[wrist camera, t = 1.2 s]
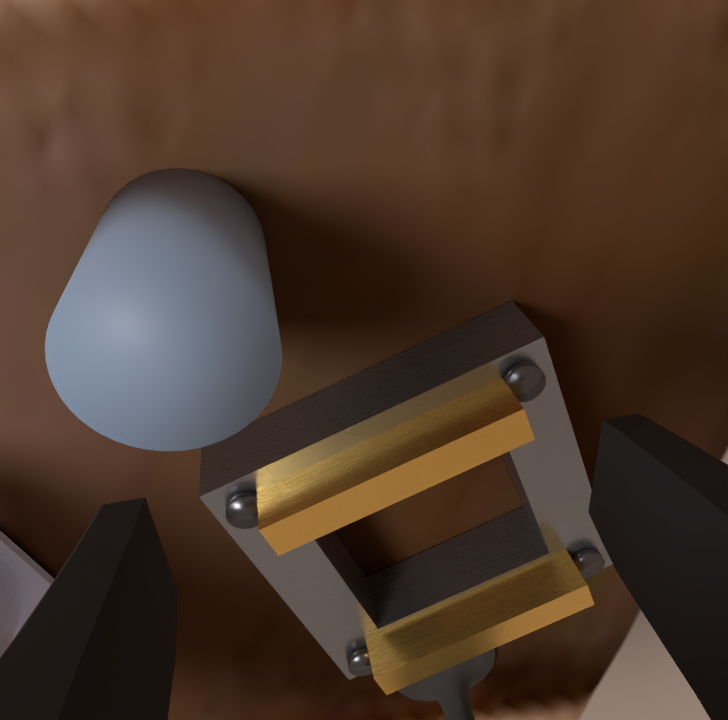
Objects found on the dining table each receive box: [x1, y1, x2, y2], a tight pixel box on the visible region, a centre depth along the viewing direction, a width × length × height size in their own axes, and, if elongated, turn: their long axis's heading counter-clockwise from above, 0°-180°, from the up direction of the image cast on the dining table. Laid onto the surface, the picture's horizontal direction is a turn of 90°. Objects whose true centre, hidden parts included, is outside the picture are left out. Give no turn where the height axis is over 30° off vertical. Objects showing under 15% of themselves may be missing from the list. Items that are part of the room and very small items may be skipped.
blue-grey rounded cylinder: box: [45, 169, 282, 451], centre depth 15 cm, size 4×4×6 cm
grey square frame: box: [199, 301, 613, 695], centre depth 22 cm, size 11×11×4 cm
